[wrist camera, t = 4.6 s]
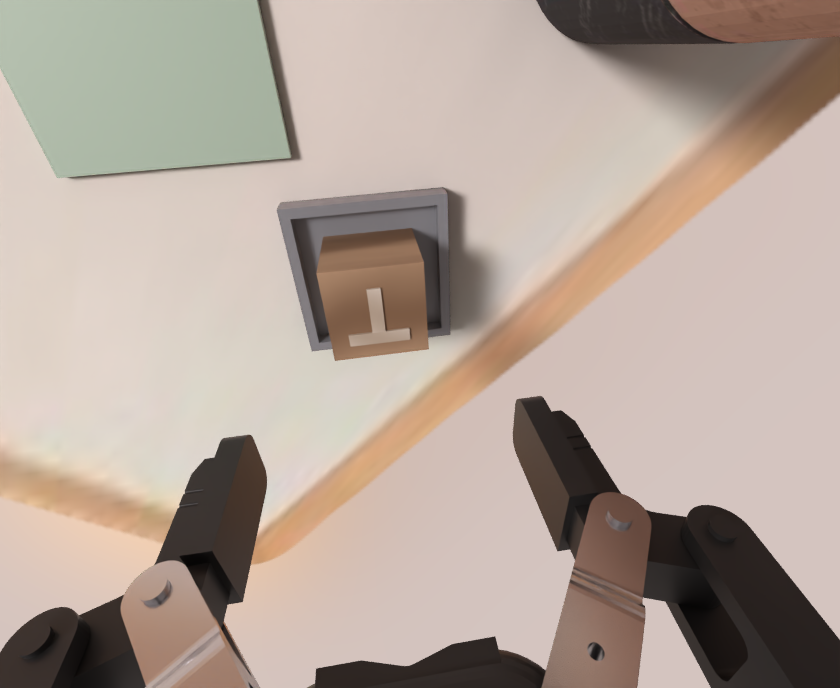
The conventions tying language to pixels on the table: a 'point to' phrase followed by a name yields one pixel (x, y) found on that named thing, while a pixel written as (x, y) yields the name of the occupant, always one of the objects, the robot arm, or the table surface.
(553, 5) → the travel mug
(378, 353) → the letter cube
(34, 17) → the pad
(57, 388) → the table surface
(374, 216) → the tray
